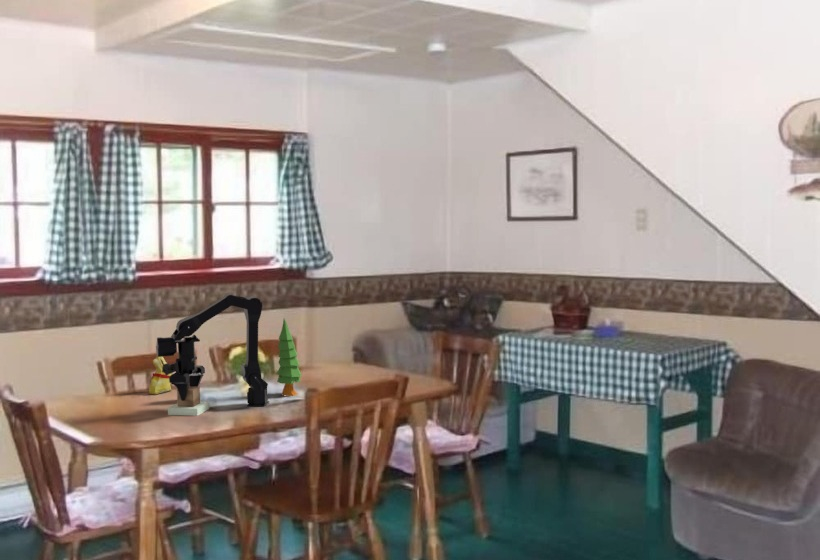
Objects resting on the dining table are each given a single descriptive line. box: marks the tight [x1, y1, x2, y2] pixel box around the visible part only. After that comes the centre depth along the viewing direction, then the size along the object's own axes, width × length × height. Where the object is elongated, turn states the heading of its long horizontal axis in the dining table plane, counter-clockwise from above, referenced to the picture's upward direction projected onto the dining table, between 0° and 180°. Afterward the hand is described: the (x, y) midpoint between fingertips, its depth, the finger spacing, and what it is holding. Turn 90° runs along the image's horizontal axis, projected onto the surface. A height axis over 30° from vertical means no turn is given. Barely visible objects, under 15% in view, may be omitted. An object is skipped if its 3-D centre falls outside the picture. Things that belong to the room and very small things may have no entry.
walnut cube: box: [176, 386, 201, 407], centre depth 346 cm, size 6×6×6 cm
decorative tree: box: [276, 317, 302, 397], centre depth 371 cm, size 10×9×30 cm
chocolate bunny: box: [148, 356, 173, 395], centre depth 381 cm, size 7×11×15 cm, turn 141°
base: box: [167, 401, 210, 417], centre depth 347 cm, size 11×11×3 cm
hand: (188, 397), depth 346 cm, fingers open, 9 cm apart
